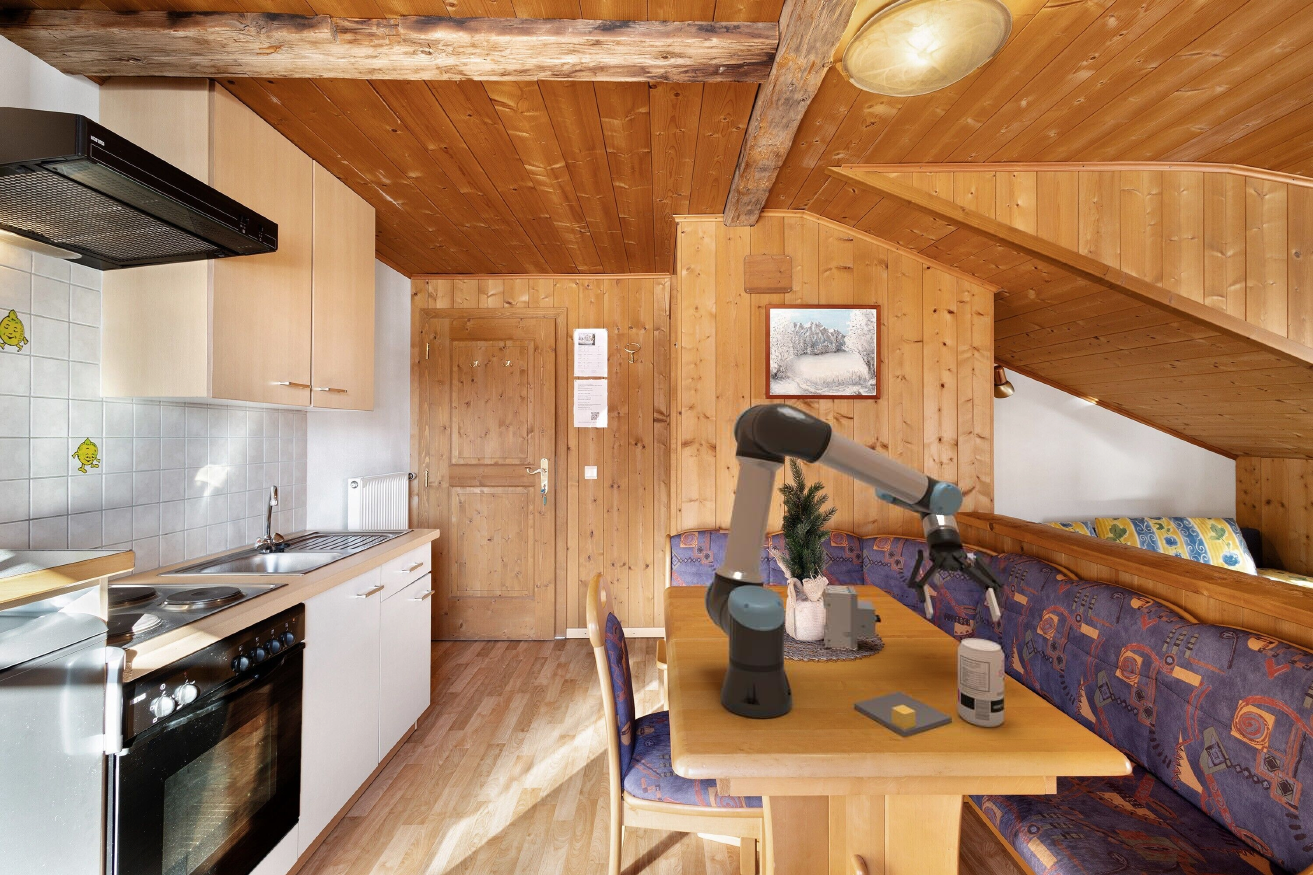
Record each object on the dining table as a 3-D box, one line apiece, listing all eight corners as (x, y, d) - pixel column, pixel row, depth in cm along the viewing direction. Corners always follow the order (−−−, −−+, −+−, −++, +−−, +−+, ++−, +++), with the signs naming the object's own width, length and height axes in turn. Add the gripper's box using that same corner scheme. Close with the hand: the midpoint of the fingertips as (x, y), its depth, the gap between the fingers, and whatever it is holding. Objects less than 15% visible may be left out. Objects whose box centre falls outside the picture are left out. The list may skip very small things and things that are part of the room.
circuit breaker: (882, 652, 156) (882, 595, 156) (825, 649, 159) (825, 592, 159) (877, 642, 164) (877, 587, 163) (823, 639, 166) (823, 585, 166)
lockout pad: (904, 736, 114) (904, 716, 114) (854, 708, 126) (854, 689, 125) (951, 722, 119) (951, 702, 119) (899, 695, 131) (899, 677, 131)
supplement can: (950, 708, 125) (950, 637, 125) (990, 709, 125) (991, 637, 125) (969, 728, 117) (969, 651, 117) (1012, 728, 117) (1013, 651, 116)
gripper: (993, 545, 146) (1020, 627, 132) (885, 543, 150) (900, 622, 136) (1002, 527, 141) (1031, 610, 126) (890, 525, 145) (906, 605, 130)
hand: (963, 617), depth 131 cm, fingers open, 13 cm apart
